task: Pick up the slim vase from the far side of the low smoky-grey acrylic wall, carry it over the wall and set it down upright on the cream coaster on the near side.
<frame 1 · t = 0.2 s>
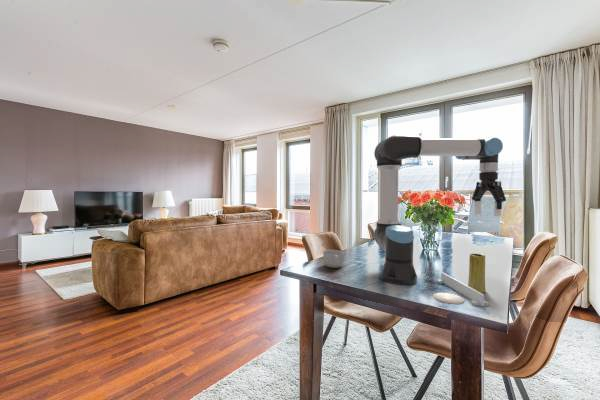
hand: (487, 215, 137), 28 cm above the table, tool pointing down, fingers open, 13 cm apart
acrylic wall: (459, 292, 108), on the table
coaster: (448, 298, 102), on the table
teacup: (333, 267, 143), on the table
vase: (476, 290, 111), on the table
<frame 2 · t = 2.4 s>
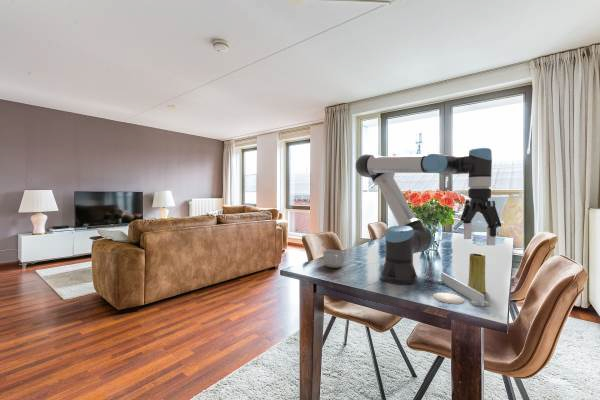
hand: (478, 242, 110), 19 cm above the table, tool pointing down, fingers open, 13 cm apart
nothing on the table moved.
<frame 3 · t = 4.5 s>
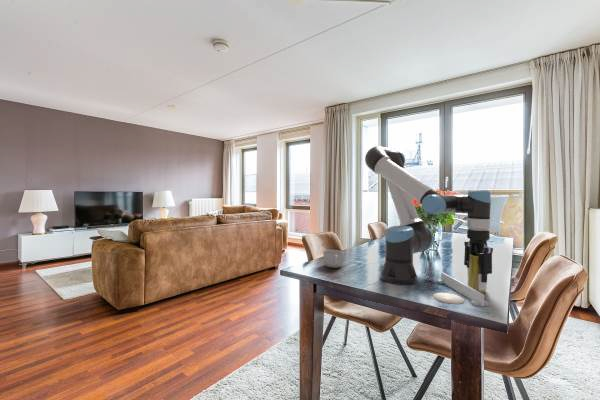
hand: (476, 287, 111), 1 cm above the table, tool pointing down, fingers closed on vase, 6 cm apart
vase: (476, 290, 111), on the table, touching gripper
everything else where it was.
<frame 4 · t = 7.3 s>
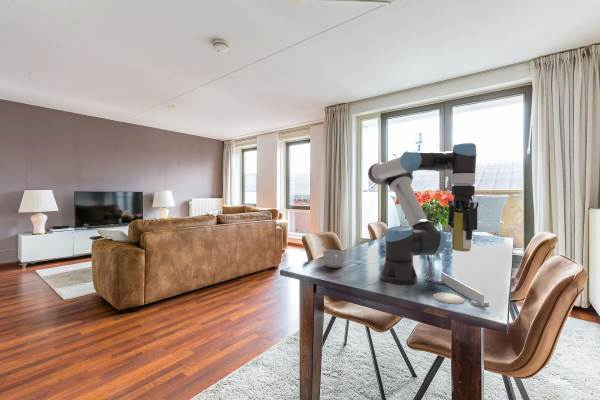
hand: (460, 246, 105), 19 cm above the table, tool pointing down, fingers closed on vase, 6 cm apart
vase: (460, 250, 105), point 17 cm above the table, touching gripper
everything else where it was.
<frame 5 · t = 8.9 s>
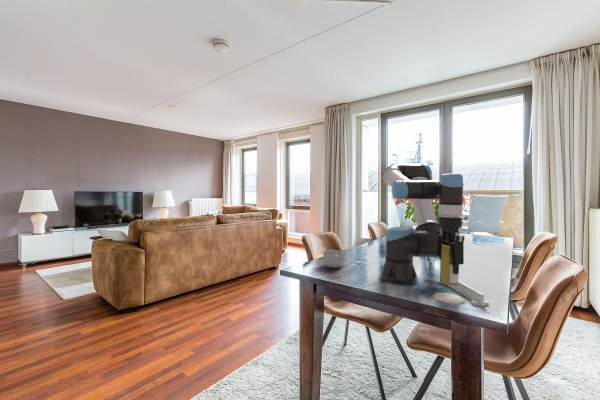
hand: (448, 279, 102), 7 cm above the table, tool pointing down, fingers closed on vase, 6 cm apart
vase: (448, 283, 102), point 6 cm above the table, touching gripper
everything else where it was.
when the fingers open (2 cm above the table, at t = 10.3 s): vase stays where it is, resting on coaster.
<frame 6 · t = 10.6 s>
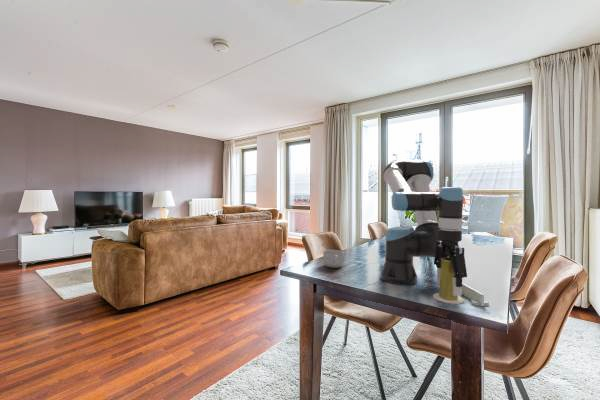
hand: (448, 289, 102), 3 cm above the table, tool pointing down, fingers open, 10 cm apart
vase: (448, 298, 102), resting on coaster
everything else where it was.
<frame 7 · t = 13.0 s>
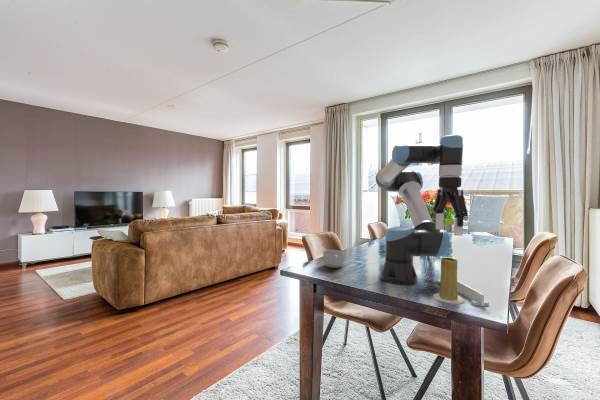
hand: (448, 232, 107), 24 cm above the table, tool pointing down, fingers open, 13 cm apart
nothing on the table moved.
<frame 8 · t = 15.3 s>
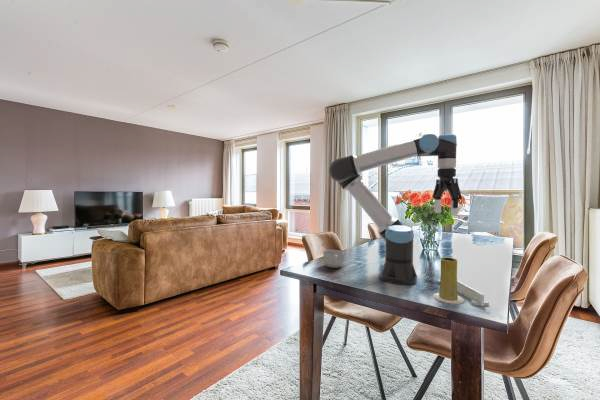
hand: (445, 214, 130), 29 cm above the table, tool pointing down, fingers open, 13 cm apart
nothing on the table moved.
at the end: vase 0.1 cm from the coaster (horizontally); vase tilted 0°; the gripper is holding nothing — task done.
